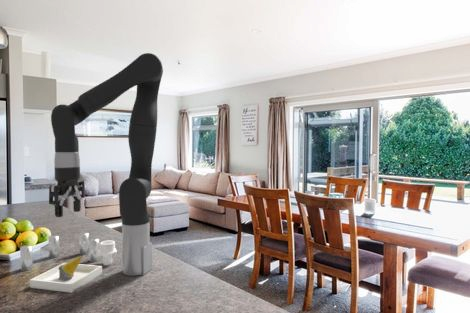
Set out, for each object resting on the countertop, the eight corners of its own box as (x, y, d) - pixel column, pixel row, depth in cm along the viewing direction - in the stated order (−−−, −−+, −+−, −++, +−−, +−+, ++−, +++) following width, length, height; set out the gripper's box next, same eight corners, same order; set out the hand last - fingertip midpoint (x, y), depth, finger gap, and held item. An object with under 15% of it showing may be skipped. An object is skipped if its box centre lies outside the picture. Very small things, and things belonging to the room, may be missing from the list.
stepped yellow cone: (60, 276, 111) (84, 253, 114) (66, 287, 108) (90, 263, 111) (49, 271, 107) (73, 248, 109) (55, 282, 104) (80, 258, 106)
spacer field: (110, 253, 134) (110, 234, 134) (71, 275, 112) (71, 252, 111) (64, 249, 139) (64, 231, 138) (18, 270, 116) (17, 248, 116)
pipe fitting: (94, 264, 122) (93, 243, 122) (111, 259, 128) (111, 238, 128) (103, 268, 118) (103, 246, 118) (121, 262, 124) (120, 241, 124)
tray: (102, 273, 114) (102, 266, 114) (71, 292, 100) (71, 284, 99) (64, 269, 117) (64, 262, 117) (29, 287, 103) (29, 279, 103)
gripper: (61, 167, 102) (63, 219, 103) (90, 164, 116) (91, 210, 117) (41, 167, 104) (42, 218, 104) (72, 164, 118) (73, 209, 118)
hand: (68, 214), depth 111 cm, fingers open, 8 cm apart
